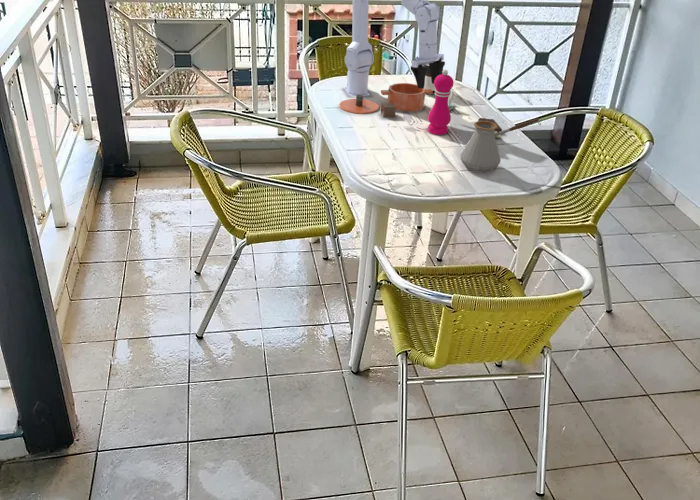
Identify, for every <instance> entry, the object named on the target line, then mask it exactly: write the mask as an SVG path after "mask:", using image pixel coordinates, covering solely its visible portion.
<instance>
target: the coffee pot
mask: <svg viewBox="0 0 700 500" xmlns="http://www.w3.org/2000/svg"><path fill="white" fill-rule="evenodd" d="M533 123H537V124H538V125H539V126H541V125H542V124H541V121H540V118H534V119H530V120H529V121H524V122H521V123H518V124H515V125H513V126H511V127H509V128H507V129H502V131H500V132H497V133H494V131H495V129H497V125H496V124H494V123H492V122H488V121H478V120H477V121H475V122H474V123H473V126H474V128H475V130H474V132H473V134H472V135H471V137H470V138H469V140H468V142H467V143H466V145H465V147H464V148H463V149H462V151H461V153H460V155H459V157H460V160H461V163H462V164H463V165H464V166H465V168H466V169H467V170H469V171H472V172H474V173H482V174H483V173H489V172H492V170H495V169H496V168H497V167H498V166H499V165H500V164H501V155H500V152H499V148H498V144H497V139H496V136H498V135H500V136H501V135H504V134H506V133H508V132H513V131H515V130H520V129H522V128H525V127H527V126H529V125H533Z"/></svg>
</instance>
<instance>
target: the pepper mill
mask: <svg viewBox="0 0 700 500" xmlns="http://www.w3.org/2000/svg"><path fill="white" fill-rule="evenodd" d="M434 86H435V88H436V89H435V93H434V94H433V95H435V98H434V99H435V100H434V103H433V106H432V107H431V109H430V111H429V112H428V116H427V120H428V123H429V124H428V126H427V127H428V128H427V131H428V132H429V133H430V134H433V135H438V136H442V135H446V134H447V133H448V131H449V126H448V125H449V124H450V123H451V120H452V119H451V116H452V115H451V110H449V108H448V98H449V96H450V93H451V91H452V88H453V87H454V79H453V77H452V76H451V75H449V70H448V69H443V71H442V74H441V75H438V76H437V77H436V78H435V81H434ZM450 89H451V91H450Z"/></svg>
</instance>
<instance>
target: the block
mask: <svg viewBox="0 0 700 500" xmlns="http://www.w3.org/2000/svg"><path fill="white" fill-rule="evenodd" d="M396 111H397V110H396V107H395V105H394V104H393V103H388V102H386V103H385V102H383V103H380V115H381V116H382V118H395V117H396Z"/></svg>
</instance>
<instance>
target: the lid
mask: <svg viewBox="0 0 700 500" xmlns="http://www.w3.org/2000/svg"><path fill="white" fill-rule="evenodd" d="M338 106H339V108H340V110H342V111H344V112H347V113H350V114H361V115H363V114H373V113H376V112H377V111H379V109H380V105H379V104H378V103H376V102H375V101H373V100H369V99H364V96H363V95H356V96H355V98H349V99H344V100H341V101H340V102H339V105H338Z"/></svg>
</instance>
